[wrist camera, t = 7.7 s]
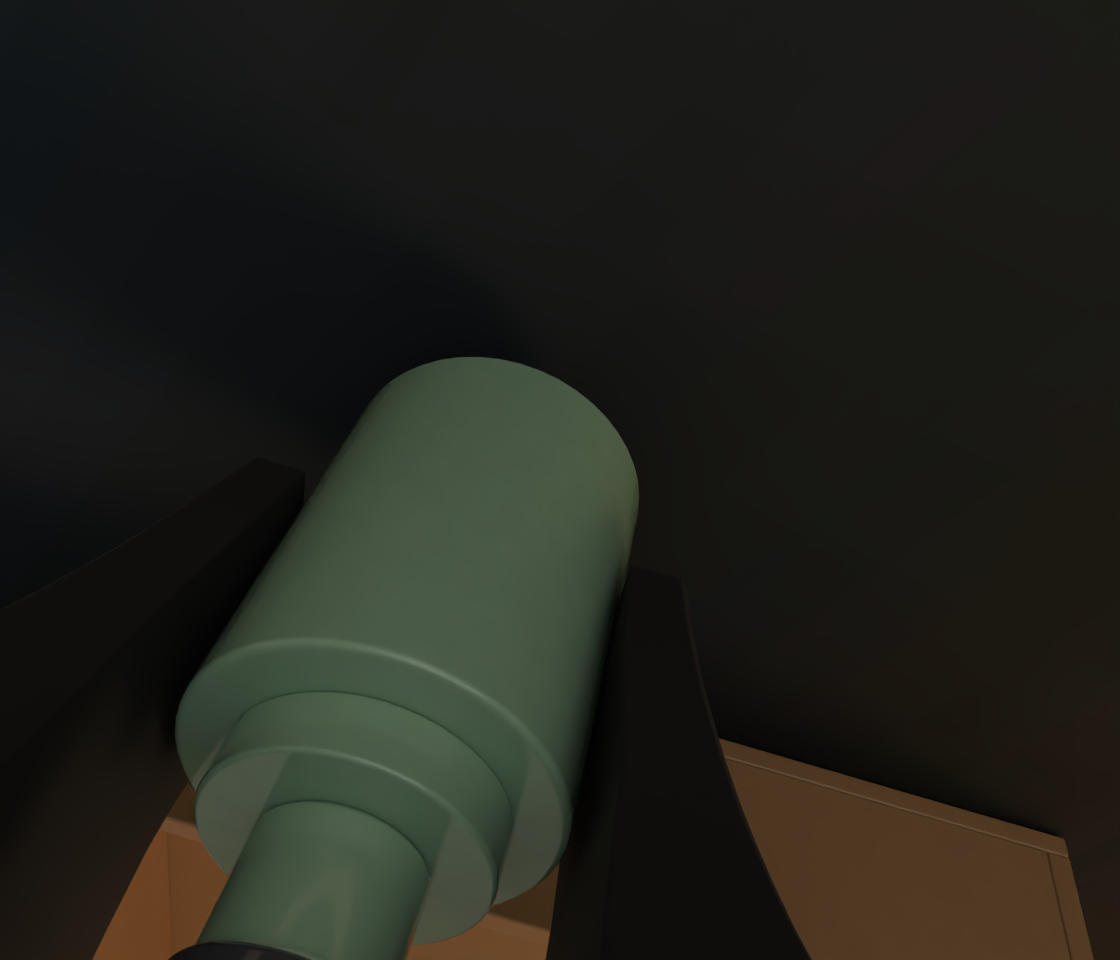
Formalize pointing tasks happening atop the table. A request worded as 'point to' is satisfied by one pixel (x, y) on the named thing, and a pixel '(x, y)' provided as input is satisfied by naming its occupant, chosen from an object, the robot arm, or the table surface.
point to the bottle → (413, 672)
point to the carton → (790, 857)
